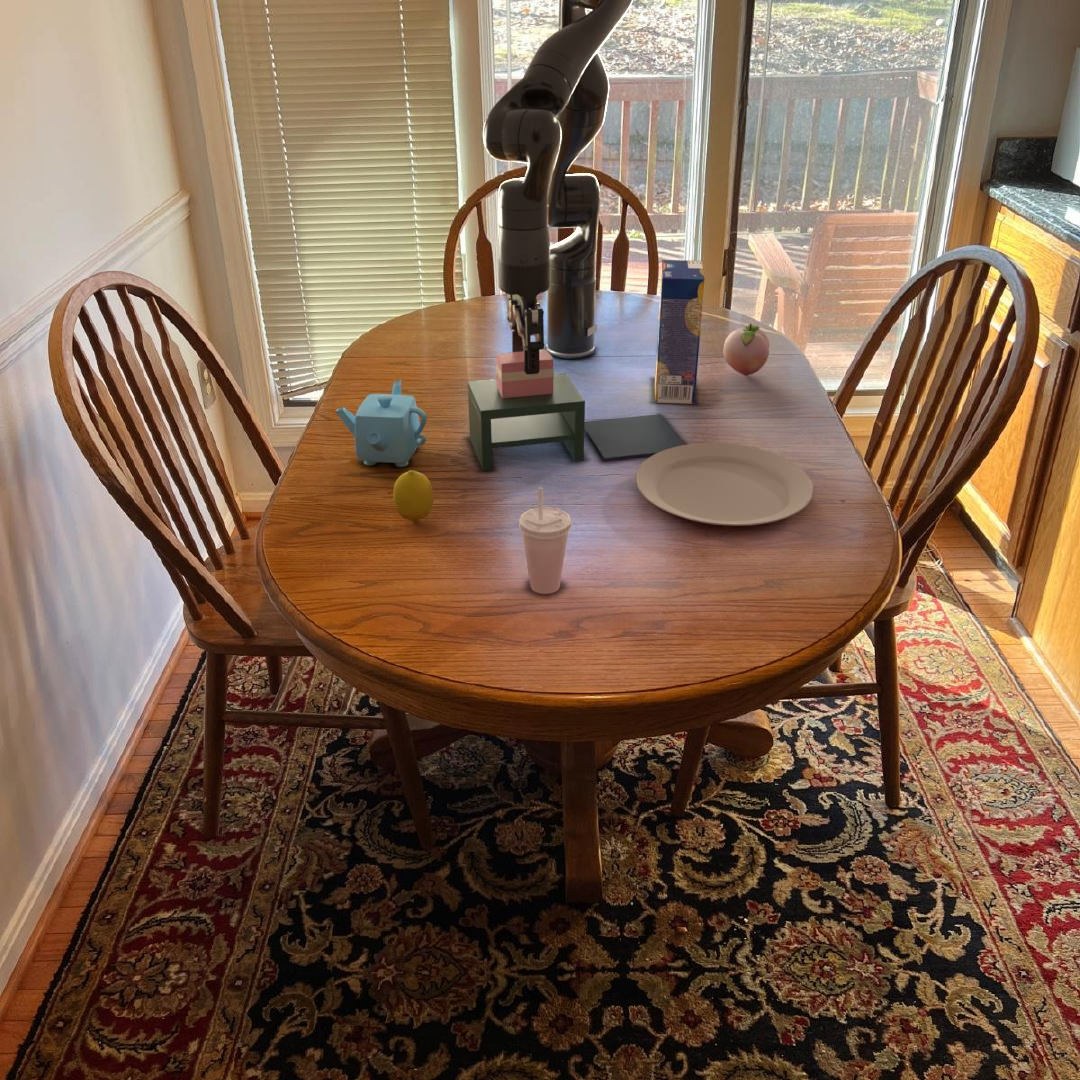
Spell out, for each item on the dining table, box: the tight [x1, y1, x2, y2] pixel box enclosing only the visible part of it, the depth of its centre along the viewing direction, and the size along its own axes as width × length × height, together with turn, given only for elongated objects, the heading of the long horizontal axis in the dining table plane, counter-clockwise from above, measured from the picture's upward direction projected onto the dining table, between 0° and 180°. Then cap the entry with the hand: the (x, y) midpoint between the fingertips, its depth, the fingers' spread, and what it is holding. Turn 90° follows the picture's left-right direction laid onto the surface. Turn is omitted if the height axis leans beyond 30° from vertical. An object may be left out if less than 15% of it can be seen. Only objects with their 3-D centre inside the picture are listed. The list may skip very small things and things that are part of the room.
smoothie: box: [518, 486, 572, 595], centre depth 124 cm, size 6×6×14 cm
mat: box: [584, 413, 686, 462], centre depth 165 cm, size 14×14×1 cm
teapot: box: [335, 379, 427, 468], centre depth 157 cm, size 18×14×10 cm
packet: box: [495, 348, 555, 398], centre depth 155 cm, size 4×8×6 cm, turn 103°
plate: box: [635, 442, 814, 527], centre depth 148 cm, size 26×26×2 cm
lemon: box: [392, 469, 435, 523], centre depth 139 cm, size 6×6×8 cm
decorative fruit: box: [722, 323, 770, 377], centre depth 185 cm, size 9×8×10 cm
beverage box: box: [654, 259, 706, 405], centre depth 176 cm, size 7×11×22 cm, turn 175°
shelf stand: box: [467, 371, 586, 472], centre depth 159 cm, size 12×16×10 cm
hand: (525, 363), depth 154 cm, fingers open, 8 cm apart
